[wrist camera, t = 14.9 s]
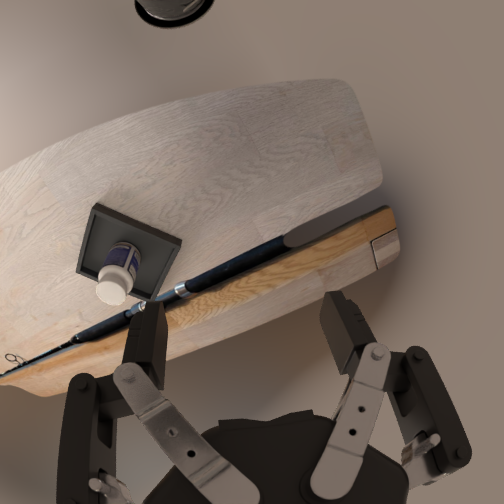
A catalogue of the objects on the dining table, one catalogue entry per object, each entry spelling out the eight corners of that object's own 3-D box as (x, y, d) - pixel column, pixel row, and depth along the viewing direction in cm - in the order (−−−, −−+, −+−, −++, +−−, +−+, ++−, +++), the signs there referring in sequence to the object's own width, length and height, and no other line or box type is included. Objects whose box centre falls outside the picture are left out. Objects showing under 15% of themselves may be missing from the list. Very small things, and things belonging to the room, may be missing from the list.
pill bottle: (104, 257, 45) (86, 294, 37) (119, 234, 43) (101, 270, 35) (131, 274, 48) (118, 314, 39) (147, 253, 46) (136, 292, 38)
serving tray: (79, 265, 46) (75, 272, 44) (96, 202, 40) (91, 208, 39) (154, 296, 52) (152, 304, 50) (182, 240, 46) (181, 246, 44)
